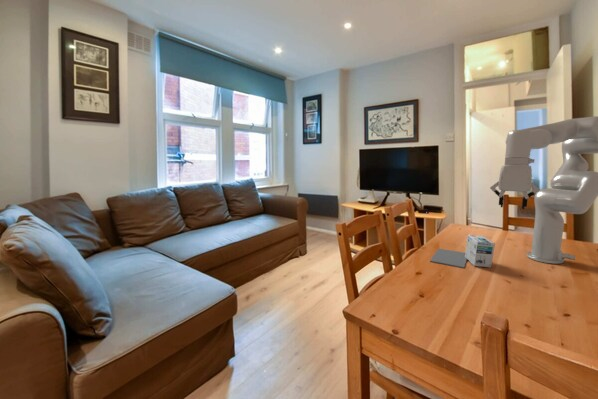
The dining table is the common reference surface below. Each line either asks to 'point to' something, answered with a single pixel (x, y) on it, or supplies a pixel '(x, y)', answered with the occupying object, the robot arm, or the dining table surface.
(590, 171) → the robot arm
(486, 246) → the light bulb box
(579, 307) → the dining table surface
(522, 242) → the dining table surface
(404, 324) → the dining table surface
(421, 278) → the dining table surface
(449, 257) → the mat
